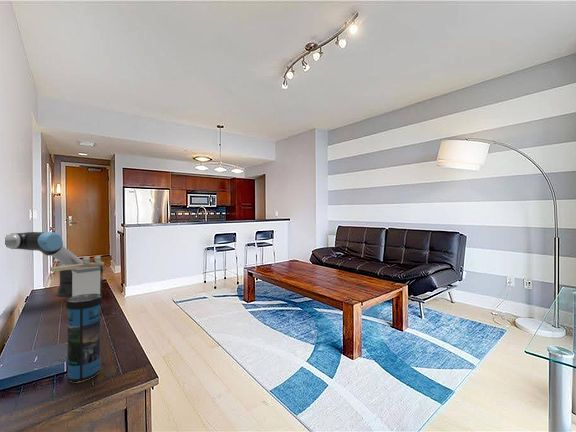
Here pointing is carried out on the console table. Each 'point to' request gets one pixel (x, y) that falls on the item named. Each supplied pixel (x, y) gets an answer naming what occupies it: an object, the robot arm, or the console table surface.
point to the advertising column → (83, 336)
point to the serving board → (85, 264)
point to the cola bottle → (100, 279)
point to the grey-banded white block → (86, 281)
